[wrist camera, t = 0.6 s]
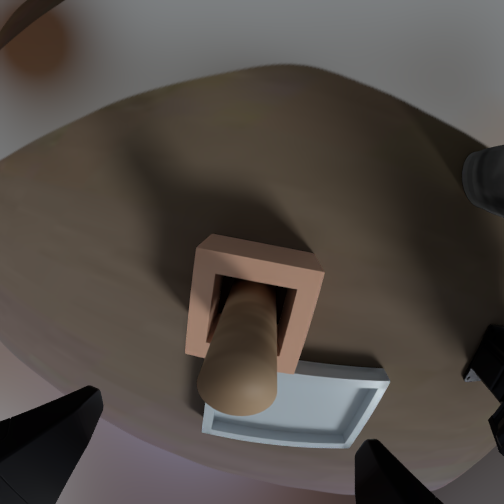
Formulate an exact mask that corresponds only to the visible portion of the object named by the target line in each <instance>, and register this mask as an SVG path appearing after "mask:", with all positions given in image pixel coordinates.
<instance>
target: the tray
mask: <svg viewBox="0 0 504 504" xmlns="http://www.w3.org/2000/svg"><path fill="white" fill-rule="evenodd" d="M389 383H390V380H389V378H388V376H387V374H386V372H385V370H384V369H383V368H368V367H355V366H344V365H334V364H325V363H316V362H308V361H301V360H299V361H298V364H297V367H296V369H295V372H294V374H286V373H280V372H277V396H276V398H275V401H274V402H273V404H272V405H271V406H270V407H268V408H267V409H266V410H264V411H262V412H260V413H257V414H254V415H250V416H233V415H228V414H224V413H221V412H219V411H217V410H215V409H213V408H212V407H210V406H209V405H208V404H207V403H206V402H205V409H204V417H203V426H202V432H203V433H207V434H212V435H217V436H222V437H227V438H232V439H238V440H244V441H250V442H257V443H265V444H273V445H283V446H295V447H311V448H349V447H350V446H351V445H352V443H353V442H354V440H355V439H356V437H357V436H358V434H359V433H360V431H361V430H362V428H363V427H364V425H365V424H366V422H367V421H368V419H369V417H370V416H371V414H372V413H373V411H374V409H375V408H376V406H377V404H378V403H379V401H380V399H381V397H382V396H383V394H384V392H385V390H386V388H387V387H388V385H389Z"/></svg>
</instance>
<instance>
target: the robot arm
mask: <svg viewBox="0 0 504 504" xmlns="http://www.w3.org/2000/svg"><path fill="white" fill-rule="evenodd" d="M463 379H464V381H465V382H471V381H482V382H483V383H484V384H485V385H486V387H487V388H488V389H489V390H490V391H491V392H492V394H493V395H494V396H495V397H496V399H497V400H498V401H499V402H500V404H501V405H500V406H499V408H498V409H497V410H496V412H495V413H494V414H493V415H492V416H491V417H490V418H489V419H488V421H489V424H490V427H491V430H492V433H493V435H494V438H495V441H496V444H497V447H498V450H499V452H500V453H501V454H502V455H503V456H504V326H503V325H490V326H489V328H488V330H487V332H486V334H485V336H484V338H483V341H482V343H481V345H480V347H479V349H478V351H477V353H476V355H475V357H474V359H473V361H472V362H471V364H470V366H469V368H468V370H467V372H466V373H465V375H464V377H463ZM102 411H103V401H102V396H101V392H100V390H99V389H98V388H95V387H93V386H90V385H89V386H86V387H84V388H81V389H79V390H77V391H74V392H72V393H70V394H68V395H65V396H63V397H61V398H58V399H56V400H53V401H51V402H49V403H46V404H44V405H41V406H39V407H37V408H34V409H32V410H29V411H27V412H24V413H21V414H19V415H16V416H14V417H11V419H10V418H8V419H6V420H3V421H0V504H55V503H56V502H57V500H58V498H59V496H60V494H61V492H62V490H63V488H64V487H65V485H66V483H67V481H68V479H69V477H70V476H71V474H72V472H73V470H74V468H75V466H76V465H77V463H78V461H79V459H80V458H81V456H82V454H83V452H84V451H85V449H86V447H87V445H88V443H89V441H90V439H91V437H92V434H93V432H94V430H95V427H96V425H97V422H98V420H99V418H100V416H101V413H102ZM355 498H356V504H443V503H442V502H441V501H440V500H439V499H438V498H437V497H436V498H435V495H434V494H432V492H430V491H429V490H428V489H427V488H426V487H425V486H424V485H423V484H422V483H421V482H420V481H419V480H418V479H417V478H416V477H415V476H414V475H413V474H412V473H411V472H410V471H409V470H408V469H407V468H406V467H405V466H404V465H403V464H402V463H401V462H400V461H399V460H398V459H397V458H396V457H395V456H394V455H393V454H392V453H391V452H390V451H389V450H388V449H387V448H386V447H385V446H384V445H383V444H382V443H381V442H380V441H379V440H377V439H367V440H365V441H364V442H363V444H362V445H361V447H360V448H359V449H358V451H357V452H356V454H355Z"/></svg>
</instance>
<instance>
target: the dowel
mask: <svg viewBox="0 0 504 504" xmlns="http://www.w3.org/2000/svg"><path fill="white" fill-rule="evenodd" d="M197 390H198V392H199V394H200V396H201V398H202V399H203V400H204V401H205V402H206V403H207V404H208V405H209V406H210V407H212V408H213V409H215V410H217V411H219V412H221V413H224V414H228V415H233V416H250V415H254V414H257V413H260V412H262V411H264V410H266V409H267V408H268V407H270V406H271V405H272V404H273V402H274V401H275V398H276V396H277V323H276V288H275V285H271V284H266V283H260V282H255V281H250V280H245V279H240V278H236V279H235V281H234V283H233V285H232V288H231V290H230V293H229V296H228V298H227V301H226V304H225V306H224V309H223V311H222V314H221V317H220V319H219V322H218V325H217V327H216V330H215V333H214V335H213V338H212V341H211V343H210V346H209V349H208V351H207V354H206V357H205V359H204V362H203V365H202V367H201V370H200V373H199V375H198V378H197Z"/></svg>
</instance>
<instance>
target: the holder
mask: <svg viewBox="0 0 504 504" xmlns="http://www.w3.org/2000/svg"><path fill="white" fill-rule="evenodd" d="M324 274H325V272H324V270H323V268H322V266H321V265H320V263H319V261H318V259H317V258H316V256H315V254H314V253H310V252H305V251H300V250H295V249H289V248H284V247H279V246H274V245H269V244H264V243H259V242H254V241H248V240H243V239H238V238H233V237H228V236H222V235H217V234H211V235H210V236H209V237H207V238H206V239H205V240H204V241H203V242H202V243H201V244H199V245H198V246H197V247H196V253H195V261H194V269H193V277H192V286H191V295H190V304H189V314H188V325H187V336H186V348H185V354H189V355H193V356H197V357H202V358H205V357H206V354H207V351H208V349H209V346H210V343H211V341H212V338H213V335H214V333H215V330H216V327H217V325H218V322H219V319H220V317H221V314H220V313H218V308H219V302H220V295H221V289H222V282H223V276H224V275H225V276H230V277H235V278H240V279H245V280H250V281H255V282H260V283H266V284H271V285H276V286H281V287H287V292H286V297H285V301H284V305H283V309H282V313H281V317H280V321H279V324H278V325H277V372H280V373H286V374H294V372H295V369H296V367H297V364H298V361H299V358H300V355H301V352H302V349H303V345H304V342H305V339H306V336H307V333H308V330H309V326H310V323H311V320H312V316H313V313H314V310H315V306H316V303H317V299H318V296H319V292H320V288H321V285H322V281H323V277H324Z"/></svg>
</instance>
